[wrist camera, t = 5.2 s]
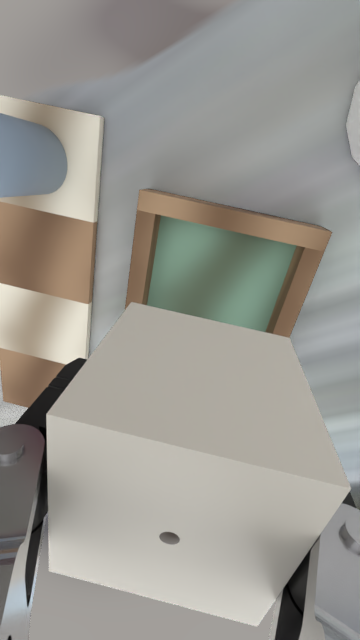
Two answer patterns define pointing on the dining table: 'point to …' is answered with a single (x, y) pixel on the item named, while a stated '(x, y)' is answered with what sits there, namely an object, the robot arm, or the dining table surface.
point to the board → (49, 258)
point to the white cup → (354, 125)
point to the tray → (222, 262)
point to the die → (189, 465)
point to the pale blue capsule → (29, 158)
